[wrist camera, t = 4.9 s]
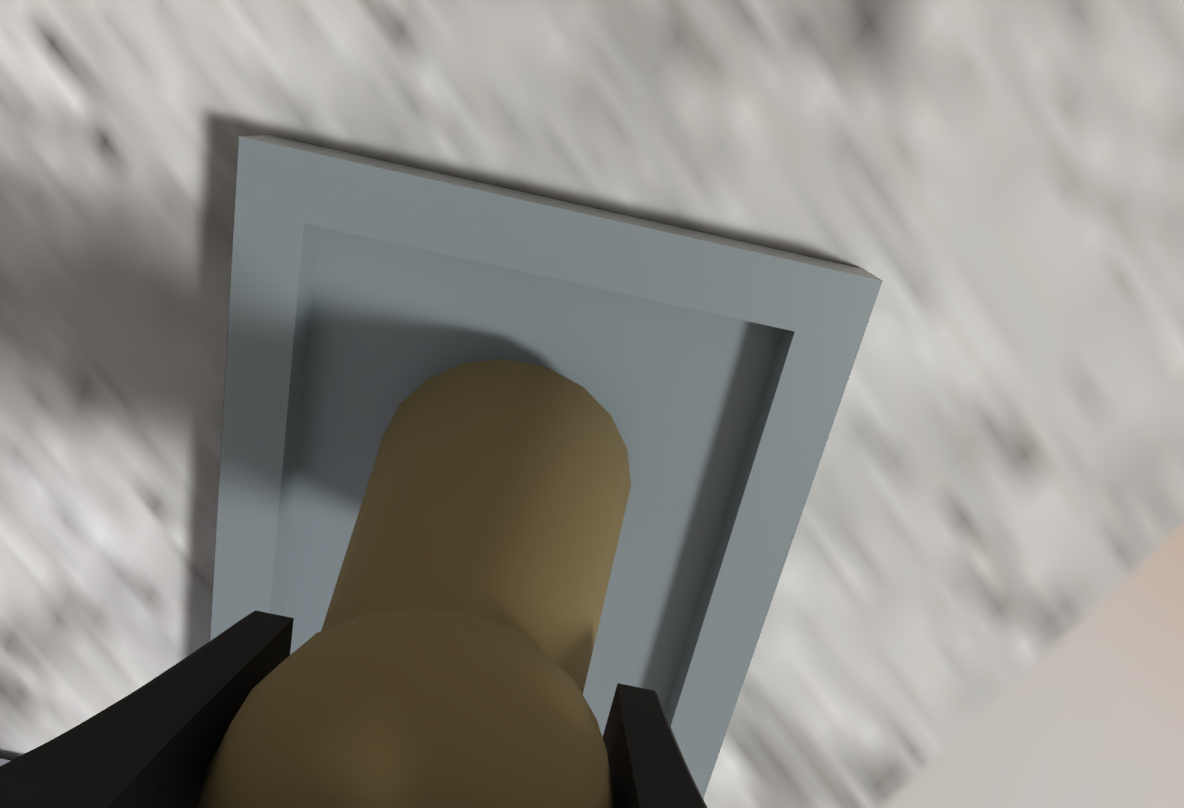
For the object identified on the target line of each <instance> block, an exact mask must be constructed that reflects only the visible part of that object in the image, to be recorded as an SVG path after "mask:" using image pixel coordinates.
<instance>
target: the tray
mask: <svg viewBox="0 0 1184 808" xmlns="http://www.w3.org/2000/svg"><path fill="white" fill-rule="evenodd" d="M881 283H882V280H880V279H879V278H877V277H876V276H874V275H872V274H871V273H869V272H868V271H866V270H864V269H863V268H859V267H854V266H850V265H845V264H841V263H837V262H832V261H828V260H823V259H819V258H814V257H810V256H805V255H801V254H797V253H792V252H788V251H783V250H779V249H774V248H770V247H765V246H761V245H757V244H752V243H748V242H743V241H739V240H734V239H730V238H725V237H721V236H717V235H712V234H708V233H703V232H699V231H694V230H690V229H685V228H681V227H677V226H672V225H668V224H663V223H659V222H654V221H650V220H645V219H641V218H637V217H632V216H628V215H623V214H619V213H614V212H610V211H605V210H601V209H597V208H592V207H588V206H583V205H579V204H574V203H570V202H565V201H561V200H557V199H552V198H548V197H543V196H539V195H534V194H530V193H525V192H521V191H516V190H512V189H508V188H503V187H499V186H494V185H490V184H485V183H481V182H476V181H472V180H468V179H463V178H459V177H454V176H450V175H445V174H441V173H436V172H432V171H428V170H423V169H419V168H414V167H410V166H405V165H401V164H396V163H392V162H388V161H383V160H379V159H374V158H370V157H365V156H361V155H356V154H352V153H348V152H343V151H339V150H334V149H330V148H325V147H321V146H316V145H312V144H308V143H303V142H299V141H294V140H290V139H285V138H281V137H276V136H272V135H255V136H239V145H238V162H237V180H236V197H235V215H234V232H233V250H232V267H231V285H230V302H229V320H228V337H227V355H226V372H225V390H224V407H223V425H222V442H221V460H220V477H219V495H218V512H217V529H216V547H215V564H214V582H213V599H212V617H211V634H210V641H211V640H212V639H214V638H215V637H217V636H218V635H220V634H221V633H222V632H224V631H225V630H227V629H228V628H230V627H231V626H232V625H234V624H235V623H237V622H238V621H240V620H241V619H243V618H244V617H245V616H247V615H249V614H250V613H252V612H254V611H255V610H256V611H261V612H266V613H271V614H276V615H281V616H286V617H291V618H294V621H293V631H292V641H291V651H290V655H291V654H292V653H293V652H295V651H296V650H297V649H298V648H299V647H300V646H302V645H303V644H304V643H305V642H306V641H308V640H309V639H310V638H311V637H312V636H314V635H315V634H316V633H318V632H320V631H321V630H322V627H323V624H324V620H325V617H326V614H327V611H328V608H329V605H330V601H331V598H332V595H333V592H334V589H335V586H336V583H337V579H338V576H339V573H340V570H341V567H342V564H343V560H344V557H345V554H346V551H347V548H348V545H349V542H350V538H351V535H352V532H353V529H354V526H355V523H356V519H357V516H358V513H359V510H360V507H361V504H362V500H363V497H364V494H365V491H366V488H367V485H368V482H369V478H370V475H371V472H372V469H373V466H374V463H375V459H376V456H377V453H378V450H379V447H380V444H381V441H382V437H383V435H384V433H385V431H386V429H387V427H388V426H389V424H390V422H391V420H392V418H393V416H394V414H395V412H396V410H397V408H398V406H399V404H401V403H402V402H403V401H404V400H405V399H406V398H407V397H408V396H409V395H410V394H411V393H412V392H414V391H415V390H416V389H417V388H418V387H419V386H420V385H421V384H422V383H423V382H424V381H425V380H426V379H428V378H431V377H433V376H435V375H437V374H440V373H442V372H444V371H447V370H449V369H451V368H453V367H456V366H458V365H460V364H463V363H469V362H479V361H489V360H499V359H508V360H513V361H518V362H523V363H528V364H533V365H538V366H543V367H547V368H549V369H551V370H553V371H555V372H556V373H558V374H560V375H562V376H564V377H566V378H568V379H570V380H571V381H573V382H575V383H577V384H579V385H581V386H583V387H584V388H585V389H586V390H587V391H588V392H589V393H590V394H591V395H592V396H593V397H594V398H595V399H596V401H597V402H598V403H599V404H600V405H601V406H602V407H603V408H604V409H605V410H606V411H607V412H608V413H609V414H610V415H611V416H612V419H613V421H614V423H615V425H616V427H617V429H618V431H619V433H620V435H621V437H622V439H623V441H624V443H625V445H626V447H627V450H628V460H629V469H630V478H631V488H630V492H629V497H628V501H627V505H626V510H625V514H624V518H623V523H622V527H621V531H620V536H619V540H618V544H617V549H616V553H615V557H614V562H613V566H612V570H611V575H610V579H609V583H608V588H607V592H606V596H605V601H604V605H603V609H602V613H601V618H600V622H599V626H598V631H597V635H596V639H595V644H594V648H593V652H592V657H591V661H590V665H589V670H588V674H587V678H586V683H585V687H584V691H583V696H584V698H585V700H586V702H587V703H588V705H589V707H590V708H591V710H592V712H593V714H594V715H595V717H596V719H597V722H598V725H599V728H600V731H601V734H602V737H603V734H604V730H605V727H606V723H607V719H608V716H609V712H610V709H611V705H612V702H613V698H614V694H615V691H616V687H617V684H618V683H619V684H624V685H629V686H634V687H639V688H644V689H649V690H654V691H655V692H656V693H657V695H658V696H659V698H660V700H661V703H662V706H663V708H664V711H665V714H666V716H667V719H668V722H669V724H670V727H671V729H672V732H673V734H674V737H675V739H676V741H677V744H678V746H679V748H680V751H681V753H682V755H683V758H684V760H685V762H686V764H687V767H688V769H689V771H690V773H691V775H692V777H693V779H694V782H695V784H696V786H697V788H698V790H699V792H700V794H701V796H702V798H704V795H705V792H706V789H707V786H708V783H709V780H710V777H711V774H712V772H713V769H714V766H715V763H716V760H717V757H718V754H719V751H720V748H721V746H722V743H723V740H724V737H725V734H726V731H727V728H728V725H729V722H730V720H731V717H732V714H733V711H734V708H735V705H736V702H737V699H738V696H739V694H740V691H741V688H742V685H743V682H744V679H745V676H746V673H747V670H748V668H749V665H750V662H751V659H752V656H753V653H754V650H755V647H756V644H757V642H758V639H759V636H760V633H761V630H762V627H763V624H764V621H765V618H766V616H767V613H768V610H769V607H770V604H771V601H772V598H773V595H774V592H775V590H776V587H777V584H778V581H779V578H780V575H781V572H782V569H783V566H784V564H785V561H786V558H787V555H788V552H789V549H790V546H791V543H792V540H793V538H794V535H795V532H796V529H797V526H798V523H799V520H800V517H801V514H802V511H803V509H804V506H805V503H806V500H807V497H808V494H809V491H810V488H811V485H812V483H813V480H814V477H815V474H816V471H817V468H818V465H819V462H820V459H821V457H822V454H823V451H824V448H825V445H826V442H827V439H828V436H829V433H830V431H831V428H832V425H833V422H834V419H835V416H836V413H837V410H838V407H839V405H840V402H841V399H842V396H843V393H844V390H845V387H846V384H847V381H848V379H849V376H850V373H851V370H852V367H853V364H854V361H855V358H856V355H857V353H858V350H859V347H860V344H861V341H862V338H863V335H864V332H865V329H866V327H867V324H868V321H869V318H870V315H871V312H872V309H873V306H874V303H875V301H876V298H877V295H878V292H879V289H880V286H881Z"/></svg>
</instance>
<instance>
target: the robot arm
mask: <svg viewBox="0 0 1184 808" xmlns="http://www.w3.org/2000/svg"><path fill="white" fill-rule="evenodd" d="M293 621H294V618H291V617H286V616H281V615H276V614H271V613H266V612H261V611H256V610H255V611H254V612H252V613H250V614H249V615H247V616H245V617H244V618H243V619H241V620H240V621H238V622H237V623H235V624H234V625H232V626H231V627H230V628H228V629H227V630H225V631H224V632H222V633H221V634H220V635H218V636H217V637H215V638H214V639H212V640H211V641H209V642H208V643H207V644H205V645H204V646H202V647H201V648H199V649H198V650H196V651H195V652H194V653H192V654H191V655H189V656H188V657H186V658H185V659H183V660H182V661H180V662H179V663H177V664H176V665H174V666H173V667H171V668H170V669H168V670H167V671H165V672H164V673H162V674H161V675H159V676H158V677H156V678H155V679H153V680H151V681H150V682H148V683H147V684H145V685H144V686H142V687H141V688H139V689H138V690H136V691H134V692H133V693H131V694H130V695H128V696H126V697H125V698H123V699H121V700H120V701H118V702H116V703H115V704H113V705H111V706H110V707H108V708H106V709H105V710H103V711H101V712H100V713H98V714H96V715H95V716H93V717H91V718H90V719H88V720H86V721H85V722H83V723H81V724H80V725H78V726H76V727H74V728H73V729H71V730H69V731H67V732H65V733H63V734H62V735H60V736H58V737H56V738H54V739H53V740H51V741H49V742H47V743H45V744H43V745H41V746H39V747H37V748H35V749H33V750H31V751H29V752H28V753H26V754H24V755H22V756H20V757H18V758H16V759H14V760H12V761H11V760H6V759H0V808H197V807H198V803H199V800H200V796H201V792H202V788H203V785H204V781H205V777H206V774H207V770H208V767H209V765H210V763H211V761H212V759H213V757H214V755H215V753H216V751H217V749H218V747H219V745H220V743H221V741H222V739H223V737H224V735H225V733H226V731H227V729H228V727H229V725H230V724H231V722H232V720H233V719H234V717H235V716H236V714H237V712H238V711H239V709H240V707H241V706H242V704H243V703H244V701H245V699H246V698H247V696H248V695H249V693H250V691H251V690H252V689H253V688H254V687H255V686H256V685H257V684H258V683H259V682H261V681H262V680H263V679H264V678H265V677H266V676H267V675H268V674H269V673H270V672H272V671H273V670H274V669H275V668H276V667H277V666H278V665H279V664H280V663H281V662H283V661H284V660H285V659H286V658H287V657H289V656H290V651H291V641H292V631H293ZM603 741H604V744H605V747H606V750H607V755H608V762H609V770H610V777H611V784H612V791H613V802H614V808H707V806H706V804H705V802H704V800H703V798H702V796H701V794H700V792H699V790H698V788H697V786H696V784H695V782H694V779H693V777H692V775H691V773H690V771H689V769H688V767H687V764H686V762H685V760H684V758H683V755H682V753H681V751H680V748H679V746H678V744H677V741H676V739H675V737H674V734H673V732H672V729H671V727H670V724H669V722H668V719H667V716H666V714H665V711H664V708H663V706H662V703H661V700H660V698H659V696H658V695H657V693H656V692H655V691H654V690H649V689H644V688H639V687H634V686H629V685H624V684H619V683H618V684H617V687H616V691H615V694H614V698H613V702H612V705H611V709H610V712H609V716H608V719H607V723H606V727H605V730H604V734H603Z"/></svg>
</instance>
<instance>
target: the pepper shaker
mask: <svg viewBox="0 0 1184 808" xmlns="http://www.w3.org/2000/svg"><path fill="white" fill-rule="evenodd" d="M630 488H631V478H630V469H629V460H628V450H627V447H626V445H625V443H624V441H623V439H622V437H621V435H620V433H619V431H618V429H617V427H616V425H615V423H614V421H613V419H612V416H611V415H610V414H609V413H608V412H607V411H606V410H605V409H604V408H603V407H602V406H601V405H600V404H599V403H598V402H597V401H596V399H595V398H594V397H593V396H592V395H591V394H590V393H589V392H588V391H587V390H586V389H585V388H584V387H583V386H581V385H579V384H577V383H575V382H573V381H571V380H570V379H568V378H566V377H564V376H562V375H560V374H558V373H556V372H555V371H553V370H551V369H549V368H547V367H543V366H538V365H533V364H528V363H523V362H518V361H513V360H508V359H499V360H489V361H479V362H469V363H463V364H460V365H458V366H456V367H453V368H451V369H449V370H447V371H444V372H442V373H440V374H437V375H435V376H433V377H431V378H428V379H426V380H425V381H424V382H423V383H422V384H421V385H420V386H419V387H418V388H417V389H416V390H415V391H414V392H412V393H411V394H410V395H409V396H408V397H407V398H406V399H405V400H404V401H403V402H402V403H401V404H399V406H398V408H397V410H396V412H395V414H394V416H393V418H392V420H391V422H390V424H389V426H388V427H387V429H386V431H385V433H384V435H383V437H382V441H381V444H380V447H379V450H378V453H377V456H376V459H375V463H374V466H373V469H372V472H371V475H370V478H369V482H368V485H367V488H366V491H365V494H364V497H363V500H362V504H361V507H360V510H359V513H358V516H357V519H356V523H355V526H354V529H353V532H352V535H351V538H350V542H349V545H348V548H347V551H346V554H345V557H344V560H343V564H342V567H341V570H340V573H339V576H338V579H337V583H336V586H335V589H334V592H333V595H332V598H331V601H330V605H329V608H328V611H327V614H326V617H325V620H324V624H323V627H322V630H321V631H320V632H318V633H316V634H315V635H314V636H312V637H311V638H310V639H309V640H308V641H306V642H305V643H304V644H303V645H302V646H300V647H299V648H298V649H297V650H296V651H295V652H293V653H292V654H291V655H290V656H289V657H287V658H286V659H285V660H284V661H283V662H281V663H280V664H279V665H278V666H277V667H276V668H275V669H274V670H273V671H272V672H270V673H269V674H268V675H267V676H266V677H265V678H264V679H263V680H262V681H261V682H259V683H258V684H257V685H256V686H255V687H254V688H253V689H252V690H251V691H250V693H249V695H248V696H247V698H246V699H245V701H244V703H243V704H242V706H241V707H240V709H239V711H238V712H237V714H236V716H235V717H234V719H233V720H232V722H231V724H230V725H229V727H228V729H227V731H226V733H225V735H224V737H223V739H222V741H221V743H220V745H219V747H218V749H217V751H216V753H215V755H214V757H213V759H212V761H211V763H210V765H209V767H208V770H207V774H206V777H205V781H204V785H203V788H202V792H201V796H200V800H199V803H198V807H197V808H614V802H613V791H612V784H611V777H610V770H609V762H608V755H607V750H606V747H605V744H604V741H603V737H602V734H601V731H600V728H599V725H598V722H597V719H596V717H595V715H594V714H593V712H592V710H591V708H590V707H589V705H588V703H587V702H586V700H585V698H584V696H583V691H584V687H585V683H586V678H587V674H588V670H589V665H590V661H591V657H592V652H593V648H594V644H595V639H596V635H597V631H598V626H599V622H600V618H601V613H602V609H603V605H604V601H605V596H606V592H607V588H608V583H609V579H610V575H611V570H612V566H613V562H614V557H615V553H616V549H617V544H618V540H619V536H620V531H621V527H622V523H623V518H624V514H625V510H626V505H627V501H628V497H629V492H630Z"/></svg>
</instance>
